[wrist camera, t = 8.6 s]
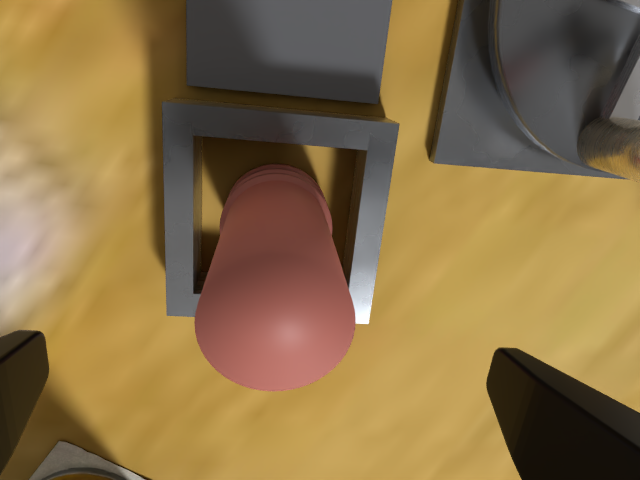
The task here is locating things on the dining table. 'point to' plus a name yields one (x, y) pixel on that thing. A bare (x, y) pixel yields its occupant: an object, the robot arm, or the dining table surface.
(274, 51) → the mat
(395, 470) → the dining table surface
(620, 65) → the handwheel
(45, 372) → the robot arm
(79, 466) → the condiment
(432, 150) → the wheel base
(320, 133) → the collar
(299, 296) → the pink rounded cylinder
